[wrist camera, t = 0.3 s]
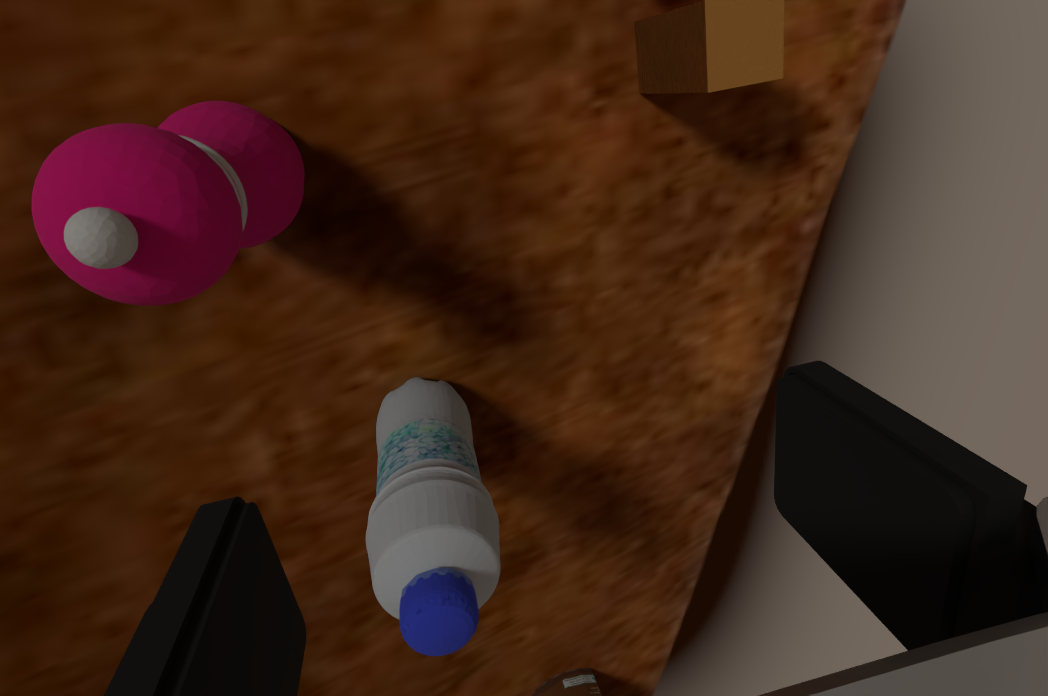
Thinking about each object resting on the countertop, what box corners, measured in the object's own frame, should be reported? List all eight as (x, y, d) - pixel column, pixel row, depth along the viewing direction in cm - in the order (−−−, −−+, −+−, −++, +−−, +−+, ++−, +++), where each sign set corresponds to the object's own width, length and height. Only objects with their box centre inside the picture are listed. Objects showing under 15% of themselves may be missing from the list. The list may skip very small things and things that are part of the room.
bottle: (386, 458, 44) (381, 714, 26) (363, 377, 41) (339, 599, 23) (476, 438, 44) (533, 671, 26) (460, 357, 42) (510, 555, 24)
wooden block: (634, 22, 36) (704, -1, 28) (696, 10, 36) (784, -14, 28) (639, 93, 37) (707, 92, 29) (699, 82, 38) (783, 78, 30)
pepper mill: (314, 110, 34) (225, 125, 16) (313, 236, 37) (233, 370, 19) (174, 90, 33) (-102, 82, 14) (183, 223, 35) (-42, 357, 17)
